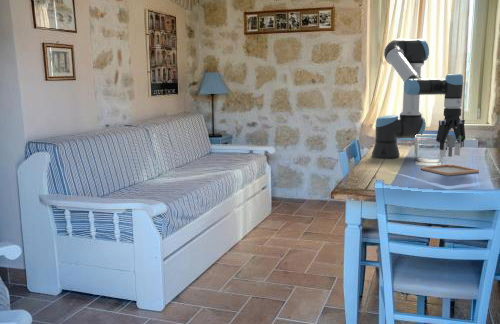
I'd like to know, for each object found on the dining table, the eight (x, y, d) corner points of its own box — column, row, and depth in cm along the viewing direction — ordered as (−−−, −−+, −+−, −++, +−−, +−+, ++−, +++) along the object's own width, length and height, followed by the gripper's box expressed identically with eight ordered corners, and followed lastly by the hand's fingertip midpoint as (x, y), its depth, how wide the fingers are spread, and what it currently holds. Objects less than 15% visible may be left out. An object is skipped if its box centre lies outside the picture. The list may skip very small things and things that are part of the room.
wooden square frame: (420, 169, 233) (420, 167, 232) (449, 166, 240) (450, 164, 239) (448, 175, 217) (448, 173, 216) (478, 172, 224) (478, 169, 223)
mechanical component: (462, 157, 225) (463, 135, 223) (439, 157, 227) (439, 136, 225) (460, 155, 227) (461, 134, 226) (438, 155, 230) (438, 135, 228)
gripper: (441, 108, 216) (438, 158, 220) (476, 107, 224) (473, 155, 228) (429, 108, 223) (426, 156, 226) (463, 106, 231) (460, 153, 234)
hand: (449, 155), depth 227 cm, fingers closed on mechanical component, 8 cm apart
